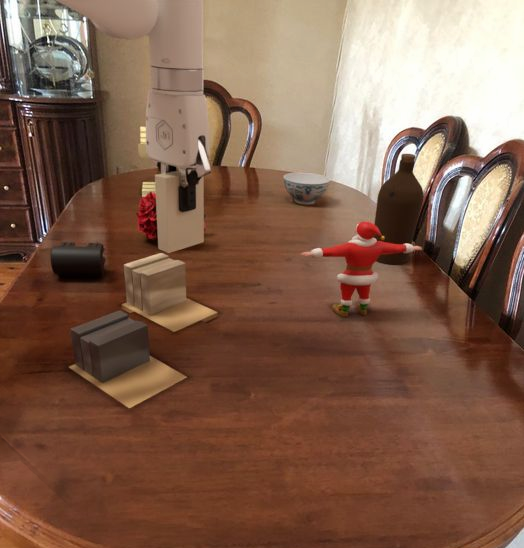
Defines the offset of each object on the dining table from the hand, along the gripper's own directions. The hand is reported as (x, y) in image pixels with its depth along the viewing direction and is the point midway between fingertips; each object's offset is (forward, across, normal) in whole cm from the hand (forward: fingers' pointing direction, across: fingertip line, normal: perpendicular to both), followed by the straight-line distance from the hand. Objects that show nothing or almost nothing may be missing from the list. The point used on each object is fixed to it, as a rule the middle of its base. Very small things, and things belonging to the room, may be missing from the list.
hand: (180, 207), depth 85 cm
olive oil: (+22, +9, +62) cm, 66 cm away
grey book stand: (+22, +6, -18) cm, 29 cm away
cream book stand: (+22, -6, +1) cm, 23 cm away
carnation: (+22, -43, +34) cm, 59 cm away
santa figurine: (+22, +19, +28) cm, 40 cm away
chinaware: (+22, -36, +86) cm, 96 cm away
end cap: (+22, -32, -1) cm, 38 cm away
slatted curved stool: (+22, -72, +58) cm, 95 cm away
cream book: (+7, 0, 0) cm, 7 cm away
